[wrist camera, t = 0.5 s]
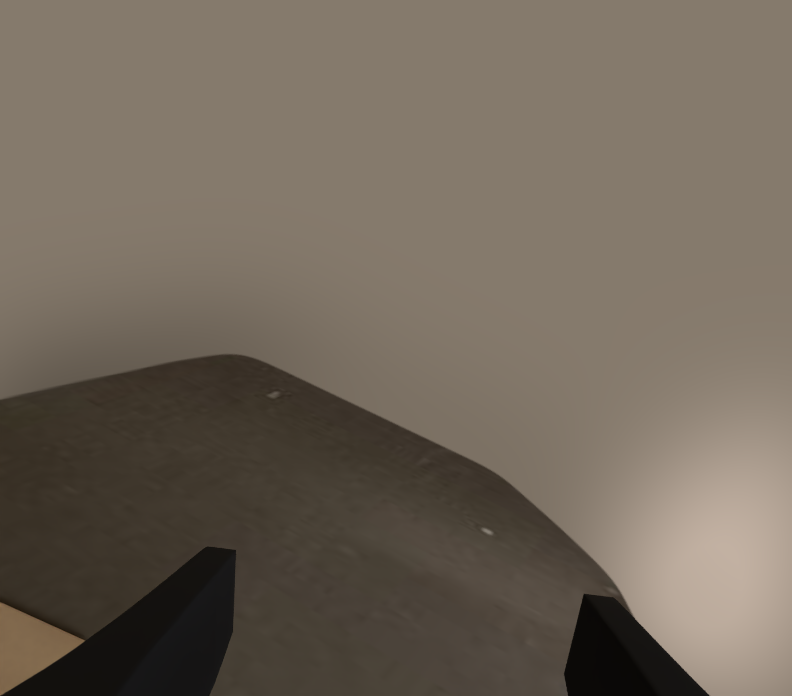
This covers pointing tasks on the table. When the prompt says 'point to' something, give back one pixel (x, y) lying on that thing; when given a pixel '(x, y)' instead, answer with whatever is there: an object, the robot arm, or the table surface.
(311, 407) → the table surface
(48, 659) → the wooden board
